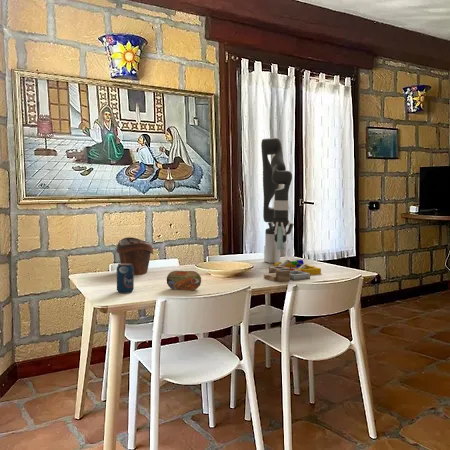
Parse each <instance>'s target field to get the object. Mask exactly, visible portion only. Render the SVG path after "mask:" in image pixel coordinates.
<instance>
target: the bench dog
mask: <svg viewBox="0 0 450 450" xmlns="http://www.w3.org/2000/svg"><path fill="white" fill-rule="evenodd" d="M290 281H291V279H290V271H289V270H278V271H276V281H275V282H278V283H284V282H290Z"/></svg>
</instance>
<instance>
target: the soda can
mask: <svg viewBox="0 0 450 450" xmlns="http://www.w3.org/2000/svg"><path fill="white" fill-rule="evenodd" d="M134 276H135V275H134V268H133V266H132V263H121V262H119V263H118V265H117V266H116V290H117V292H118V293H119V294H130V293H133V291H134V288H135V287H134V285H135V282H134V279H135V277H134Z"/></svg>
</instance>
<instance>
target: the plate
mask: <svg viewBox="0 0 450 450" xmlns="http://www.w3.org/2000/svg"><path fill="white" fill-rule="evenodd" d="M263 279H265V280H269V281H272V282H277V281H276V273H264V274H263Z"/></svg>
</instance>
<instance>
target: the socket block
mask: <svg viewBox="0 0 450 450" xmlns="http://www.w3.org/2000/svg"><path fill="white" fill-rule="evenodd" d="M290 268H291V267H290ZM290 268H287V267H283V266H276V267H274V266H270V267H268V274H271V273H276V271H278V270H289V271H290Z"/></svg>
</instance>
